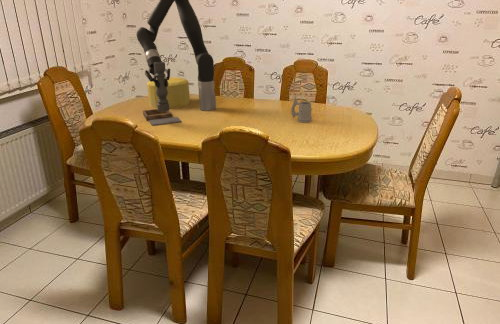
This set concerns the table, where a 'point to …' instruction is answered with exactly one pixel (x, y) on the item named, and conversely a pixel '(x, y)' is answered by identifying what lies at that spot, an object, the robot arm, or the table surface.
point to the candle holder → (161, 87)
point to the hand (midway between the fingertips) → (162, 86)
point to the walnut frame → (155, 111)
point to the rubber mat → (164, 121)
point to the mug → (302, 111)
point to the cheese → (171, 93)
